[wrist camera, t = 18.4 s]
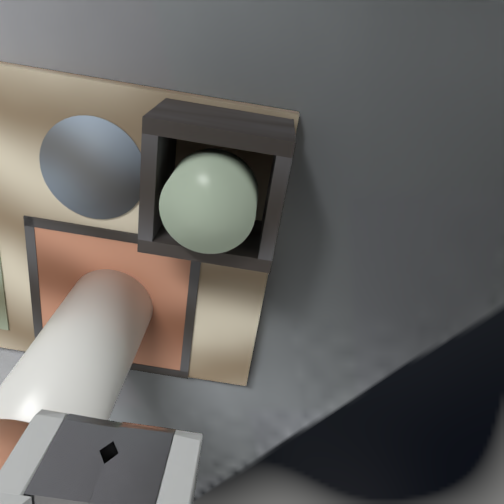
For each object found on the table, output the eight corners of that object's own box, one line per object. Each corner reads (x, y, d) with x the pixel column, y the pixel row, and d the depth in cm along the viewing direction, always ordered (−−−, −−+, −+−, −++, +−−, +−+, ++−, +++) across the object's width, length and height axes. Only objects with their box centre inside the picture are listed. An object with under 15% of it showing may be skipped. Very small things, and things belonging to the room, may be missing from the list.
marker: (69, 261, 24) (-125, 494, 13) (156, 275, 24) (42, 519, 13) (72, 330, 26) (-91, 583, 15) (152, 343, 26) (52, 604, 15)
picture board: (-150, 36, 20) (-258, 44, 16) (298, 111, 21) (302, 137, 17) (-81, 324, 28) (-142, 379, 24) (247, 376, 28) (240, 438, 24)
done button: (173, 141, 18) (161, 156, 16) (265, 156, 18) (263, 173, 16) (167, 224, 20) (156, 245, 18) (251, 237, 20) (248, 260, 18)
